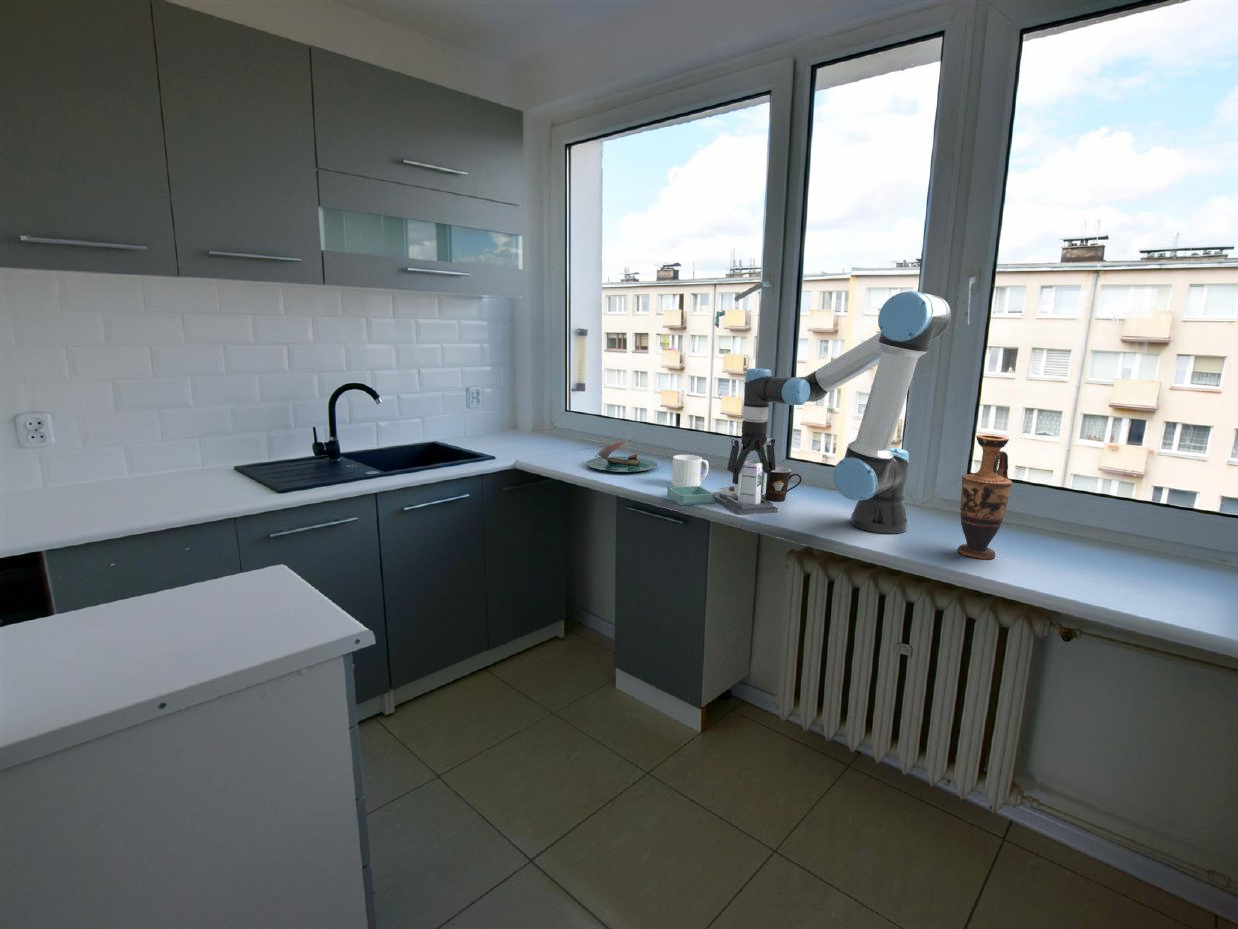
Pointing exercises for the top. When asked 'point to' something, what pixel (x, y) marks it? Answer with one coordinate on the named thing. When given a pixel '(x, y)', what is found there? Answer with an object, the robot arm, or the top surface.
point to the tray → (691, 495)
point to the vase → (985, 498)
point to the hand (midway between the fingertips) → (749, 493)
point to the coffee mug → (779, 484)
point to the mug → (687, 470)
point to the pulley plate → (731, 502)
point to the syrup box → (751, 483)
